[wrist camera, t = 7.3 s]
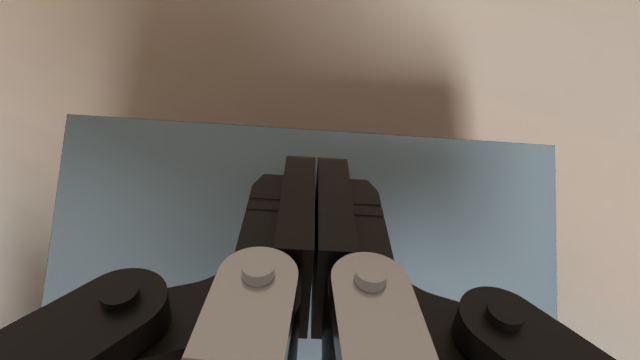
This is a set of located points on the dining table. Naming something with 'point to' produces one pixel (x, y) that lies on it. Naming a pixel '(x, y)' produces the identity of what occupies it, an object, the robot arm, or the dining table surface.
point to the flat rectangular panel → (363, 162)
